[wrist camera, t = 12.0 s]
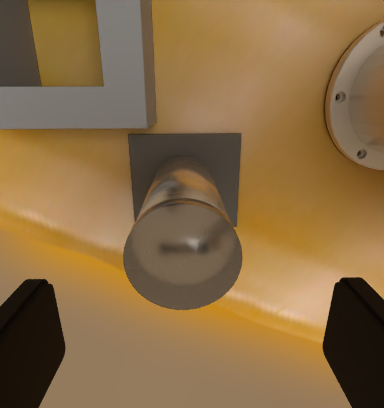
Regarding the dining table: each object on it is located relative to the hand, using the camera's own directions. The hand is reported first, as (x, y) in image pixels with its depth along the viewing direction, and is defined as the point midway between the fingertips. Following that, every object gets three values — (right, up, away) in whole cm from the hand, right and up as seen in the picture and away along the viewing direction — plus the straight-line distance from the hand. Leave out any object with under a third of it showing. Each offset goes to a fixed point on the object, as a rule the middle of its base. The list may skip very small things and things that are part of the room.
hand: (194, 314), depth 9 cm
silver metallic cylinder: (-1, +6, +17) cm, 18 cm away
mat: (-1, +6, +17) cm, 18 cm away
